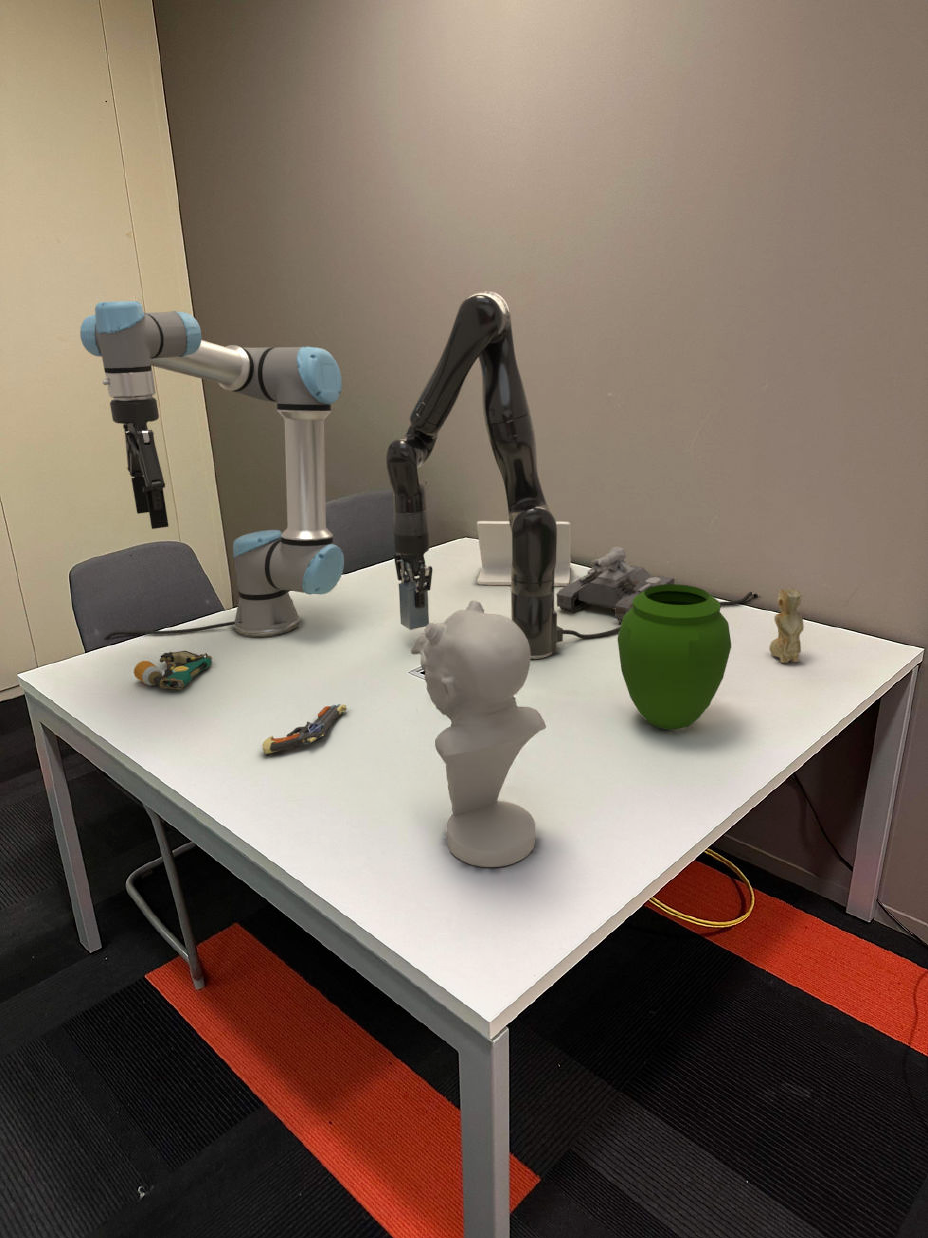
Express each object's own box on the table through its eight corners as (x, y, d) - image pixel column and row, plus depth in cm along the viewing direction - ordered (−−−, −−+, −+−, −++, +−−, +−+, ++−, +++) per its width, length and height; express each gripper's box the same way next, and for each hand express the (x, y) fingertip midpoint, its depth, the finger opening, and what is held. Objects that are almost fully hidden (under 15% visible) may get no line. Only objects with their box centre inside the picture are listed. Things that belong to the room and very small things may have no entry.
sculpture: (791, 651, 184) (798, 585, 178) (805, 664, 177) (813, 596, 172) (764, 652, 183) (771, 586, 178) (777, 666, 177) (784, 597, 171)
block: (419, 619, 195) (417, 579, 191) (429, 625, 191) (427, 585, 187) (400, 623, 192) (398, 583, 189) (410, 630, 189) (408, 589, 185)
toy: (603, 584, 229) (605, 530, 224) (673, 597, 218) (677, 540, 213) (555, 612, 210) (556, 553, 205) (630, 627, 199) (633, 566, 194)
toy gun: (257, 744, 147) (311, 741, 145) (297, 702, 165) (346, 699, 162) (260, 758, 147) (314, 756, 145) (300, 715, 165) (349, 712, 163)
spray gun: (177, 659, 191) (231, 671, 185) (120, 684, 176) (176, 698, 171) (176, 641, 190) (230, 653, 184) (118, 665, 175) (174, 678, 169)
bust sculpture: (481, 772, 140) (476, 569, 128) (565, 848, 120) (569, 617, 108) (392, 800, 134) (378, 588, 121) (465, 886, 114) (457, 642, 101)
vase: (737, 711, 158) (749, 586, 150) (704, 757, 143) (715, 621, 134) (638, 689, 168) (643, 571, 160) (597, 730, 153) (601, 602, 144)
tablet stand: (569, 585, 229) (570, 524, 223) (476, 584, 232) (475, 523, 226) (570, 566, 246) (571, 508, 240) (484, 564, 249) (483, 507, 243)
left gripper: (98, 393, 154) (118, 509, 161) (122, 406, 133) (143, 537, 141) (141, 390, 157) (159, 503, 164) (171, 402, 137) (189, 530, 144)
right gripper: (381, 525, 188) (385, 598, 194) (411, 539, 176) (414, 617, 182) (411, 520, 191) (414, 592, 198) (442, 534, 180) (445, 610, 186)
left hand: (152, 519), depth 153 cm, fingers open, 13 cm apart
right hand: (414, 603), depth 190 cm, fingers closed on block, 4 cm apart
